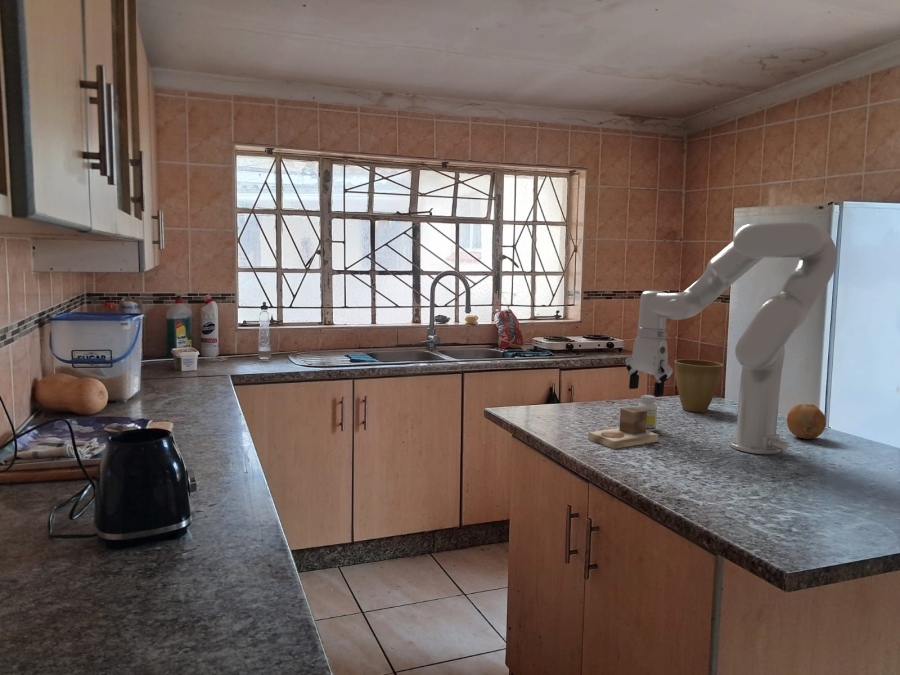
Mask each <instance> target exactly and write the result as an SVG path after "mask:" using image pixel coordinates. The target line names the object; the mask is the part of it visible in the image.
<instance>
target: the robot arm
mask: <svg viewBox="0 0 900 675" xmlns="http://www.w3.org/2000/svg"><path fill="white" fill-rule="evenodd" d="M765 258H776V259H777V258H778V259H779V258H797V259H798V261H797V264H796V266H795V268H794V269H793V270H792V271H791V273H790V274H789V276H787V279H786V281H785V282H784V284H783V285H782V287H781V288H780V289H779V291H778V292H777V293H776V295H774V296H771V297H768V298H767V299H766V300H765V301H763V303H762V304H761V306H760V307H759V308H758V309H757V312H756V313H755V314H754V316H753V317H752V318H751V321H749V323H748V325H747V326H746V328H745V330H743V333H742V334H741V335H740V338H739V339H738V340H737V343H736V345H735V349H734V350H735V351H734V353H735V357H736V359H737V361H738V363H739V364H740V365H741V366H742V367H741V374H740V381H739V382H740V385H739V392H738V393H739V395H738V406H737V407H738V409H737V421H736V436H735V437H733V438H730V439H729V446H730V447H732V449H734V450H738V451H741V452H745V453H751V454H756V455H757V454H758V455H775V454H779V453H781V452H782V451H783V452H785V451H787V449H788V446H789V442H788V441H785V440H781V439H780V437H781V436H780V435H781V434H779V433H777V428H778V426H777V424H778V417H779V416H778V415H779V402H780V401H779V400H780V391H781V383H782V381H781V380H782V374H783V373H782V372H783V365H784V360H785V351H786V350H785V345H786V343H787V342H788V340H789V339H790V337H791V336H792V335H793V333H794V331H795V330H797V329H798V328H800V327H801V326H802V325H803V324H804V322H805V320H806V319H807V317H808V314H810V312H811V310H812V308H813V307H814V306H815V304H816V302H817V301H818V300H819V298H820V297H821V295H822V293H823V291H824V290H825V288H826V287H827V285H828V283H829V282H830V281H831V279H832V277H833V275H834V273H835V270H836V267H837V263H838V251H837V246H836V244H835V242H834V240H833V239H832V237H831V236H830V233H828V232H827V230H826V229H825V228H824V227H823V226H820V225H819V224H816V223H811V222H807V221H793V222H791V221H790V222H768V223H767V222H763V223H762V222H751V223H747V224H744V225H742V226H741V227H740V228H738V229H737V230H736V231H735V233H734V236H733V239H732V241H731V242H730V243H729V244H727V245H726V246H725V247H724V248H723V249H721V251H719V252H718V253H717V254H716V255H715V256H713V257H712V258H711V259H710V260H709V261H708V263H707V266H706V268H705V271H704V272H703V274H702V275H701V276H700V277H699V278H698V279H697V280H696V281H695V282H694V283H692V284H691V285H690V286H689V287H687V288H686V289H685V290H684V291H680V292H670V293H669V292H668V293H667V292H665V291H661V290H644V291H642V293H641V294H640V301H639V313H638V314H639V315H638V324H637V326H638V327H637V334H636V335H637V336H636V337H635V340H634V342H633V348H632V354H631V356H628V357H627V358H625V360H624V361H625V366H626V369H627V371H628V373H627V374H628V376H629V381H628V382H629V384H628V388H629V389H630V390H635V389H638V388H639V384H640V375H639V374H640V373H644V374H648V375H652V376H654V378H655V380H656V382H654V388H653V389H654V390H653V396H654V397H663V396H664V392H665V391H664V390H665V383H668V380H669V379H670V378H671V377H672V376H671V375H672V374H673V371H674V369H673V367H671V366H670V365H669V364H668V362H669V360H668V357H669V356H668V355H669V354H668V344H667V343H668V342H667V340H666V339H665V338H666V337H667V336H668V333H667V332H666V327H667V326H666V325H667V319H670V320H673V321H674V320H675V321H681V320H686V319H689V318H693V317H695V316H697V315H698V314H699V313H701V312H702V311H703V310H705V309H706V308H707V307H708V306H709V305H711V304H712V303H713V302H714V301H715V300H717V299H718V298H719V297H720V296H721V295H722V294H723V293H724V292H725V291H727V290H728V289H729V288H730V287H731V286H732V285H733V284H734V283H735V282H736V281H737V280H739V279H740V278H741V277H743V275H744V274H746V273H747V272H749V271H750V270H751V269H752V268H753V267H754V266H756V265H757V264H758V263H759V262H761V261H762V260H763V259H765Z"/></svg>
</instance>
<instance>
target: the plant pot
mask: <svg viewBox="0 0 900 675" xmlns="http://www.w3.org/2000/svg"><path fill="white" fill-rule="evenodd" d="M723 367H724V365H723V363H720V362H716V361H711V360H704V359H692V358H691V359H689V358H687V359H685V358H684V359H681V358H680V359H676V360H674V370H675V372H674V373H675V381H676V387H677V391H678V392H677V393H678V396H679V400H680V403H681V407H682V409H683V410H685V411H687V412H692V413H705V412H707V410H708V408H709V407H710V405H711V403H712V400H713V398H714V396H715V393H716V390H717V388H718V385H719V381H720V379H721V374H722V370H723Z"/></svg>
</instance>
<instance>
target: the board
mask: <svg viewBox="0 0 900 675" xmlns="http://www.w3.org/2000/svg"><path fill="white" fill-rule="evenodd" d="M619 428H620V427H615V428H609V429H602V430H596V431H595V430H593V431H588V438H587V439H588V441H591V440H592V442H593V443H594V442H595V443H597V444H599V443H600V445H602V444H603V445H602V446H604V447H605V446H606V447H608V448H610V449H613V450H617V449H621V448H622V447H623V448H629V447H633V446H634V445H635V446H639V445H645V443H646V444H651V442H652V443H657V441H658V442H659V434H658V433H655V432H653V431H646V432H644V433H638V434H630V433H627V432H624V431H621V430H619ZM628 446H629V447H628ZM623 448H622V449H623Z"/></svg>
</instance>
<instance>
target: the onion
mask: <svg viewBox="0 0 900 675" xmlns="http://www.w3.org/2000/svg"><path fill="white" fill-rule="evenodd" d="M786 424H787V429H788V431H789V432H790V433H791V434H792V435H794V436H795V437H797V438H798V437H799V438H798V439H801V438H803V439H802V440H812V439H815V438H817V437H819V436H820V435H821V436H822V434H823V433H824V431H825V429H826V427H827V426H826V425H827V420H826V416H825V414H824V412H823V411H822V410H821V409H820V408H819V407H818V406H817V405H815V404H812V403H802V404H797V405H794V406H793V407H792V408H791V409H790V410H789V412H788V414H787V416H786Z"/></svg>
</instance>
